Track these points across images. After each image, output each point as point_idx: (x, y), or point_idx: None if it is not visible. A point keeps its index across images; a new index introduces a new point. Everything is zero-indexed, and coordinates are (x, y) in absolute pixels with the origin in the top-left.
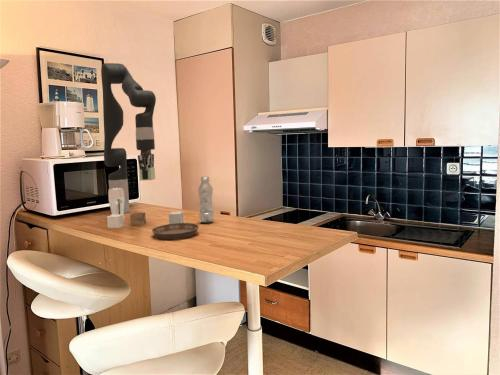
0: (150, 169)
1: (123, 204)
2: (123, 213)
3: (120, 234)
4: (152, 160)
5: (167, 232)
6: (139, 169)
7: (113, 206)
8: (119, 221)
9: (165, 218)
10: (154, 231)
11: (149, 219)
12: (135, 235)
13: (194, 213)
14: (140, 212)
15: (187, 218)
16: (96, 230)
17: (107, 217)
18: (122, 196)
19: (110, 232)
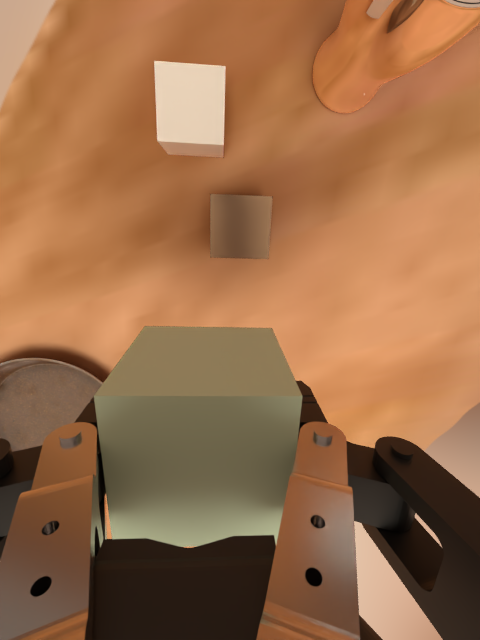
0: (116, 528)
1: (380, 78)
2: (362, 94)
3: (42, 212)
4: (444, 633)
5: (78, 389)
6: (100, 391)
7: (343, 10)
8: (170, 148)
9: (353, 310)
10: (35, 360)
11: (346, 242)
12: (33, 283)
13: (433, 400)
14: (269, 232)
15: (334, 396)
16: (113, 42)
17: (155, 65)
18: (399, 49)
19: (75, 146)
